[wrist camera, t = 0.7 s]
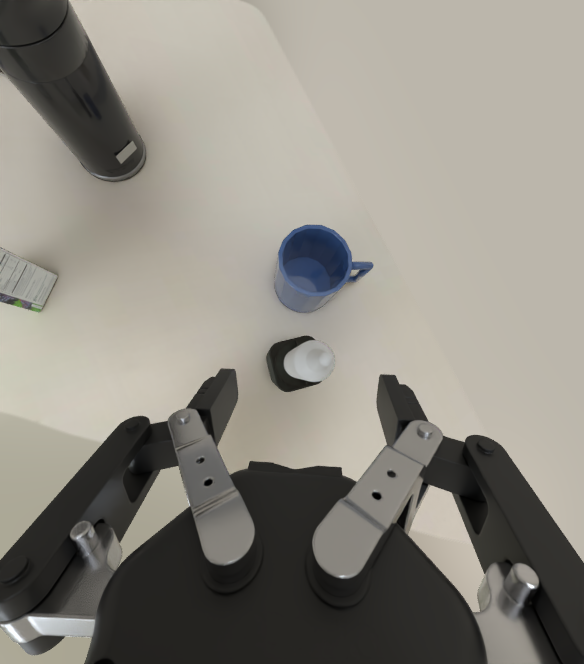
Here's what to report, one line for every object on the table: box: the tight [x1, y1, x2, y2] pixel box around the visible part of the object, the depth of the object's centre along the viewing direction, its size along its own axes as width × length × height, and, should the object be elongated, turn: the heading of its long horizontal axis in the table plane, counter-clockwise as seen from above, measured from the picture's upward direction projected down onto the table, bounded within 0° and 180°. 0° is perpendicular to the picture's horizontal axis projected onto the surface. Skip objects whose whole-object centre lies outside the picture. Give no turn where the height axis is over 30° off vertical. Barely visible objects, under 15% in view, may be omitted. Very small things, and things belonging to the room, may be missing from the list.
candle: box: [266, 336, 335, 392], centre depth 28 cm, size 5×5×25 cm
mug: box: [274, 225, 373, 313], centre depth 38 cm, size 12×9×10 cm
